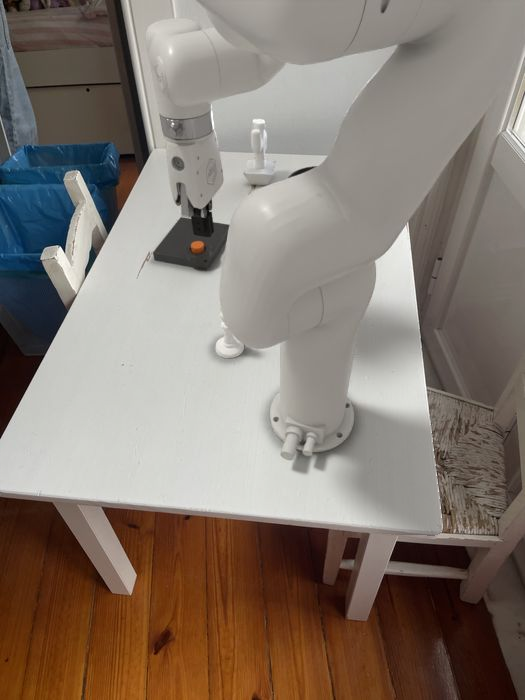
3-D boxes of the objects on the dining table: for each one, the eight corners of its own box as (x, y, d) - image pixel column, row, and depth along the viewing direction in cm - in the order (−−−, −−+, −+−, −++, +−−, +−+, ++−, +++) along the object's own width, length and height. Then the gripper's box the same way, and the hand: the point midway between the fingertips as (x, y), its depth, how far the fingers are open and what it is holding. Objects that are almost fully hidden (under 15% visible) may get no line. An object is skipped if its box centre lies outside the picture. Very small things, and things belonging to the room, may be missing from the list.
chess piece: (212, 341, 85) (206, 298, 78) (239, 334, 86) (235, 291, 78) (219, 361, 82) (213, 318, 74) (247, 354, 83) (244, 310, 75)
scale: (207, 272, 98) (205, 258, 96) (152, 263, 101) (149, 249, 98) (232, 233, 108) (231, 219, 105) (182, 225, 110) (179, 211, 108)
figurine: (277, 172, 126) (276, 112, 115) (271, 190, 120) (270, 129, 109) (249, 171, 127) (246, 111, 116) (243, 189, 121) (239, 128, 110)
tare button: (201, 254, 97) (200, 249, 96) (189, 252, 98) (188, 247, 97) (206, 247, 99) (205, 242, 98) (194, 245, 99) (193, 240, 98)
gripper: (189, 147, 64) (207, 262, 77) (230, 106, 74) (239, 214, 87) (139, 142, 66) (165, 255, 79) (185, 102, 75) (201, 209, 89)
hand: (204, 233), depth 83 cm, fingers closed
